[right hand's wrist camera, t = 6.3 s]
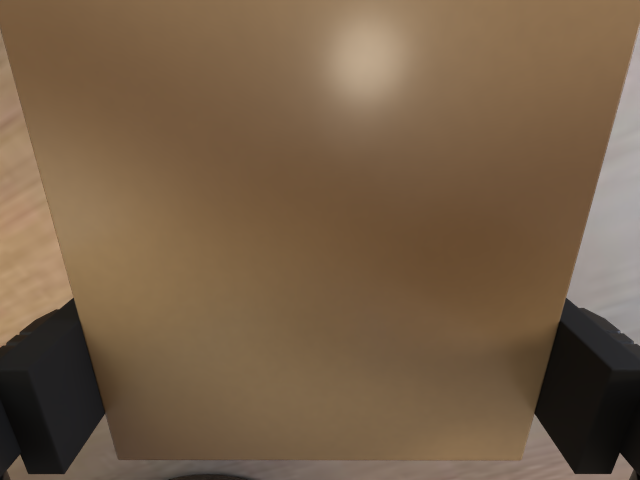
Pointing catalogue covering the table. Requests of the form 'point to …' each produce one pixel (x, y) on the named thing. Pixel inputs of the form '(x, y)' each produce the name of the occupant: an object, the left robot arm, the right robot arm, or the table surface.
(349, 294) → the cabinet
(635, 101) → the table surface
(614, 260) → the table surface
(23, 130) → the table surface
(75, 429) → the right robot arm
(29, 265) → the table surface
